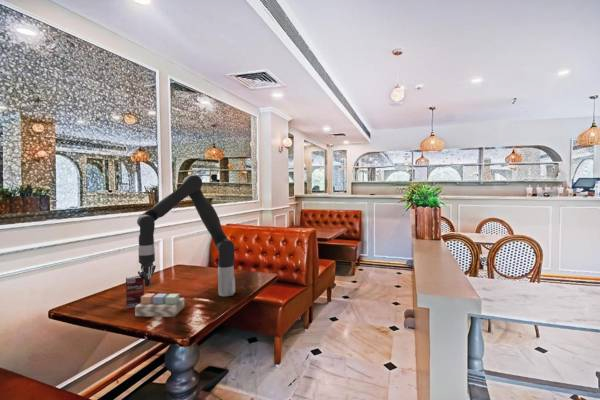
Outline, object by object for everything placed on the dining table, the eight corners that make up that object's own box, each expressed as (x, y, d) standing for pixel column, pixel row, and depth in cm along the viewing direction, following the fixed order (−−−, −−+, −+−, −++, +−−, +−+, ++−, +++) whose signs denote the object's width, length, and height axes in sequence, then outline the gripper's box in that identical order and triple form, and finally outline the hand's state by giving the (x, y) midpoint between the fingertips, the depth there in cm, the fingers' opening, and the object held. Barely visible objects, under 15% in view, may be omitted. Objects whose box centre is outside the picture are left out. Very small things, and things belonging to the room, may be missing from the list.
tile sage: (179, 301, 159) (179, 293, 158) (175, 305, 154) (174, 297, 153) (170, 301, 159) (170, 293, 159) (165, 304, 154) (165, 297, 154)
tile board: (184, 306, 162) (184, 297, 162) (173, 316, 150) (173, 306, 150) (148, 306, 163) (148, 297, 163) (135, 316, 151) (135, 306, 151)
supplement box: (126, 308, 161) (125, 279, 160) (126, 305, 165) (125, 277, 164) (144, 305, 165) (143, 277, 164) (144, 302, 169) (143, 274, 168)
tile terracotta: (155, 301, 159) (155, 293, 159) (150, 304, 154) (150, 297, 154) (146, 300, 160) (146, 293, 159) (141, 304, 155) (140, 297, 154)
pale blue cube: (167, 301, 159) (167, 293, 159) (162, 304, 154) (162, 297, 154) (158, 301, 159) (158, 293, 159) (153, 304, 154) (152, 297, 154)
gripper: (146, 256, 149) (147, 290, 150) (160, 250, 162) (161, 282, 163) (131, 256, 149) (132, 290, 150) (146, 250, 163) (147, 281, 163)
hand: (147, 285), depth 157 cm, fingers closed
